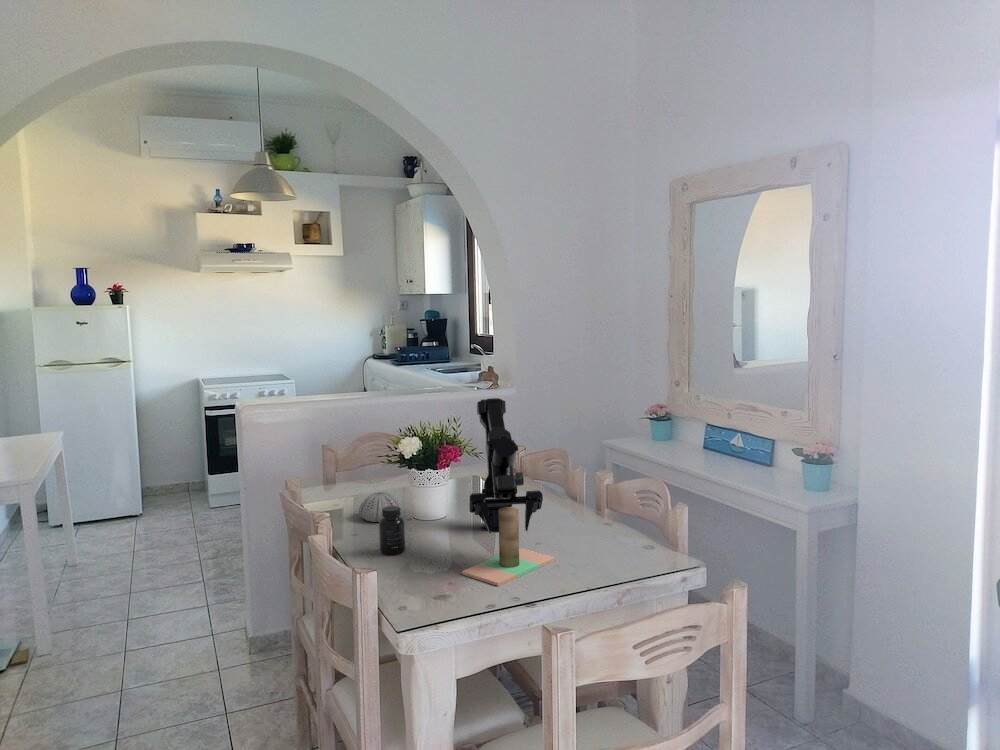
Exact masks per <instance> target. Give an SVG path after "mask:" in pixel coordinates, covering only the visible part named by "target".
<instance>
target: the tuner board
mask: <svg viewBox="0 0 1000 750" xmlns="http://www.w3.org/2000/svg"><path fill="white" fill-rule="evenodd" d="M555 560H556V557H554V556H552V555H549V554H544V553H541V552H540V553H539V552H538V551H537V552H536V551H532V550H529V549H525V548H521V547H519V565H518V566H516V567H510V568H508V567H502V566H500V564H499V555H498V556H496V557H495V556H494V557H492V558H490V559H488V560H485V561H483V562H480V563H478V564H475V565H474V566H471V567H469V568H468V567H467V568H466V569H464V570H461V575H462V576H463V575H464V576H466V577H469V578H472V579H474V580H475V579H476V580H477V581H481V582H484V583H488V584H491V585H494V586H497V587H500V586H502V585H504V584H507V583H508V582H509V583H510V582H511V581H512V580H515V579H517V578H519V577H522V576H525V575H526V574H528V573H531V572H532V571H535V570H537V569H539V568H541V567H543V566H545V565H548V564H550V563H552V562H555Z"/></svg>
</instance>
